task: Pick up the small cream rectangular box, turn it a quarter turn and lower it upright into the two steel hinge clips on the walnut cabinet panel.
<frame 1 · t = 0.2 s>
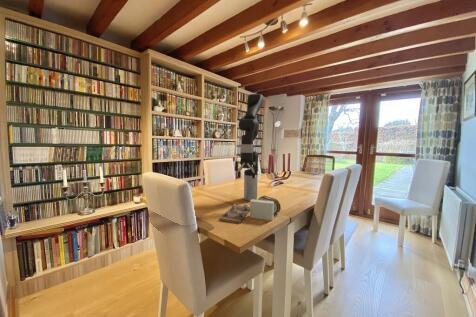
hand: (246, 178, 125), 17 cm above the table, tool pointing down, fingers open, 8 cm apart
cream rectangular box: (261, 217, 108), on the table
hinge panel: (236, 214, 112), on the table
tin: (268, 211, 117), on the table
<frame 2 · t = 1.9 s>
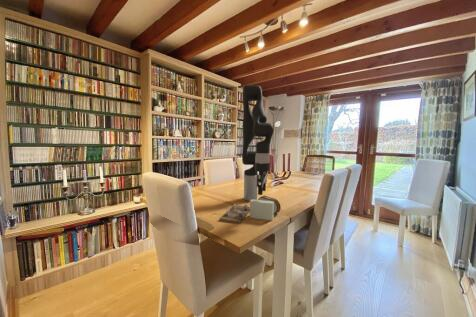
hand: (261, 192, 106), 14 cm above the table, tool pointing down, fingers open, 8 cm apart
nothing on the table moved.
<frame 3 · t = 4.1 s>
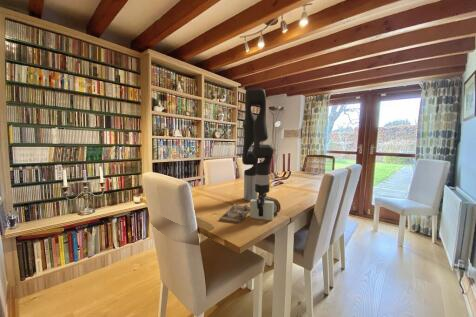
hand: (261, 214, 108), 2 cm above the table, tool pointing down, fingers closed on cream rectangular box, 3 cm apart
cream rectangular box: (261, 217, 108), on the table, touching gripper
everything else where it was.
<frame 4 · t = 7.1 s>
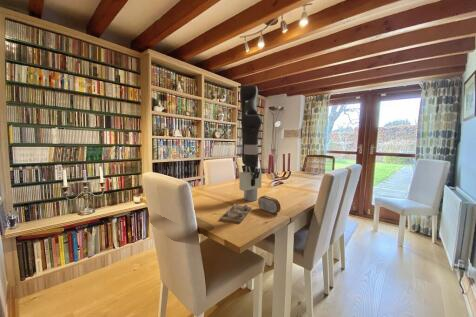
hand: (250, 185, 109), 17 cm above the table, tool pointing down, fingers closed on cream rectangular box, 3 cm apart
cream rectangular box: (250, 188, 109), point 15 cm above the table, touching gripper
everything else where it was.
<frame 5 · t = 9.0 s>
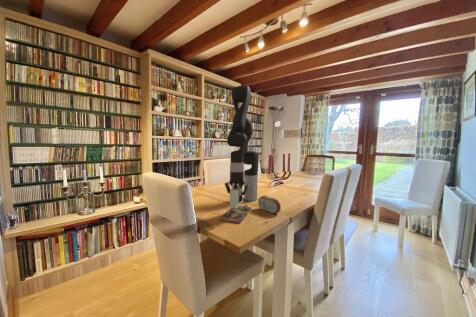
hand: (236, 201, 111), 7 cm above the table, tool pointing down, fingers closed on cream rectangular box, 3 cm apart
cream rectangular box: (236, 204, 112), point 6 cm above the table, touching gripper
everything else where it was.
when the fingers open (4 cm above the table, at t = 10.4 s): cream rectangular box stays where it is, resting on hinge panel.
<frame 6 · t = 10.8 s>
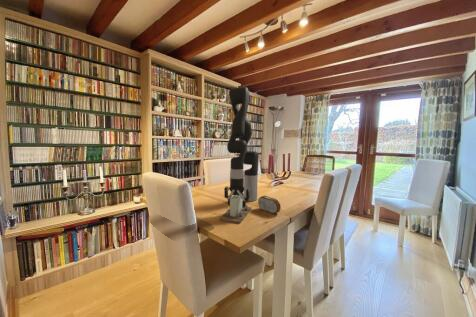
hand: (236, 206, 112), 5 cm above the table, tool pointing down, fingers open, 7 cm apart
cream rectangular box: (236, 212, 112), point 1 cm above the table, touching hinge panel
everything else where it was.
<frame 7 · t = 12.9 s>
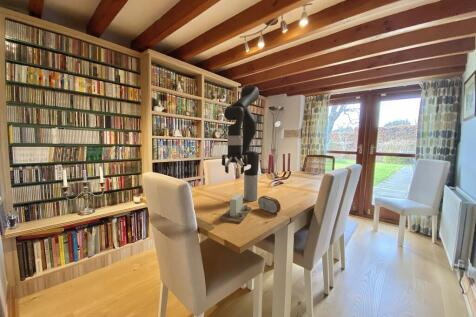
hand: (234, 173, 112), 22 cm above the table, tool pointing down, fingers open, 8 cm apart
nothing on the table moved.
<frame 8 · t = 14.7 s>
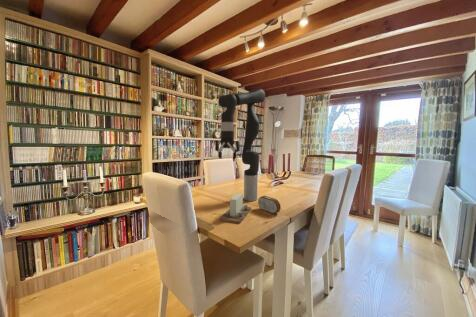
hand: (227, 158, 117), 30 cm above the table, tool pointing down, fingers open, 8 cm apart
nothing on the table moved.
at the end: cream rectangular box 0.0 cm off-centre on the hinge panel, point 1.2 cm above the hinge panel's base; cream rectangular box tilted 0°; the gripper is holding nothing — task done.
